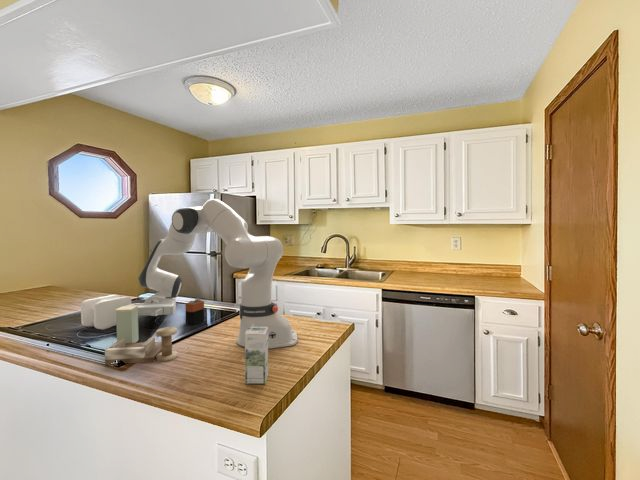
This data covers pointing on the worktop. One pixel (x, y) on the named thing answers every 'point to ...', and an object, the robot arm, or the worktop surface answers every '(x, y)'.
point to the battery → (194, 312)
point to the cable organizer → (102, 311)
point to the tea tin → (127, 323)
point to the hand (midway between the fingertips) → (141, 314)
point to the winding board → (133, 351)
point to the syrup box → (256, 355)
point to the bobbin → (166, 344)
